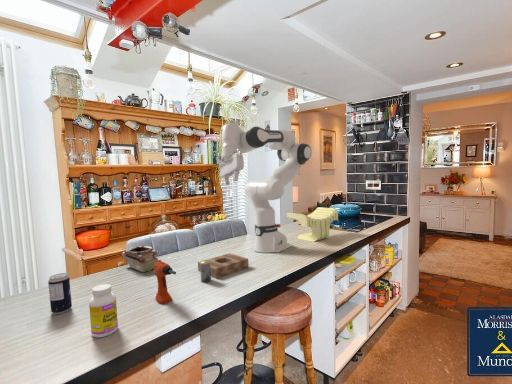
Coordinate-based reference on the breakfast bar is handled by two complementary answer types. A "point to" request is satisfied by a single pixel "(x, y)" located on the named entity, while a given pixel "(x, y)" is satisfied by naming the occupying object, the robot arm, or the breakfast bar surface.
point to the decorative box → (141, 258)
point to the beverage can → (60, 293)
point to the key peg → (205, 271)
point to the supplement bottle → (103, 311)
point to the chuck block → (226, 265)
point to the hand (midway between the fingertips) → (231, 183)
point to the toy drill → (162, 281)
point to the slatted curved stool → (316, 223)
